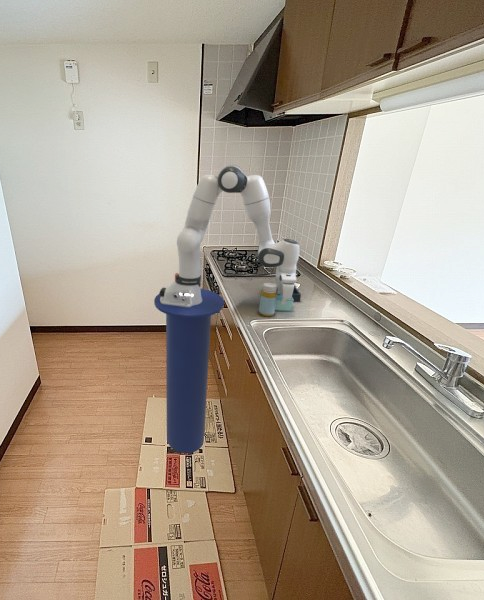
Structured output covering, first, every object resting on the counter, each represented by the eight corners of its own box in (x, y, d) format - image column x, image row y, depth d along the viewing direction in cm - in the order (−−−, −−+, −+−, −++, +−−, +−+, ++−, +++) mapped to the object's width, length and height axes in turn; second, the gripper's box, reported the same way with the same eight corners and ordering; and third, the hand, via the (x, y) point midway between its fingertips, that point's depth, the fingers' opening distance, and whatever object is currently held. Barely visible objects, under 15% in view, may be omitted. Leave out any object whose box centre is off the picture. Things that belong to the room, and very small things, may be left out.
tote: (270, 300, 171) (271, 293, 169) (266, 290, 184) (267, 283, 183) (299, 301, 169) (301, 294, 167) (293, 291, 182) (294, 284, 181)
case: (272, 310, 160) (274, 299, 158) (270, 305, 165) (272, 294, 162) (291, 311, 159) (293, 299, 156) (289, 306, 163) (291, 295, 161)
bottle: (271, 318, 152) (276, 288, 146) (256, 314, 155) (260, 285, 149) (275, 312, 157) (279, 283, 151) (261, 309, 161) (264, 281, 155)
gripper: (274, 266, 164) (270, 291, 170) (282, 280, 146) (278, 308, 151) (287, 267, 163) (283, 292, 169) (297, 281, 145) (292, 309, 150)
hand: (280, 300), depth 160 cm, fingers open, 8 cm apart
